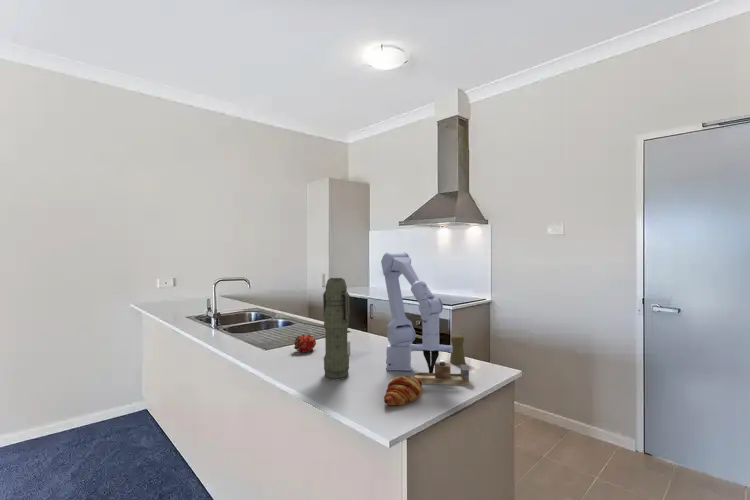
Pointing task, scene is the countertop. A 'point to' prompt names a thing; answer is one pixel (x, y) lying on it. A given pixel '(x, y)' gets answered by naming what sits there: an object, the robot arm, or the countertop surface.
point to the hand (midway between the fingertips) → (430, 372)
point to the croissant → (403, 390)
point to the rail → (454, 379)
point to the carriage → (442, 370)
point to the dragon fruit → (305, 343)
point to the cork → (457, 350)
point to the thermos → (336, 328)
